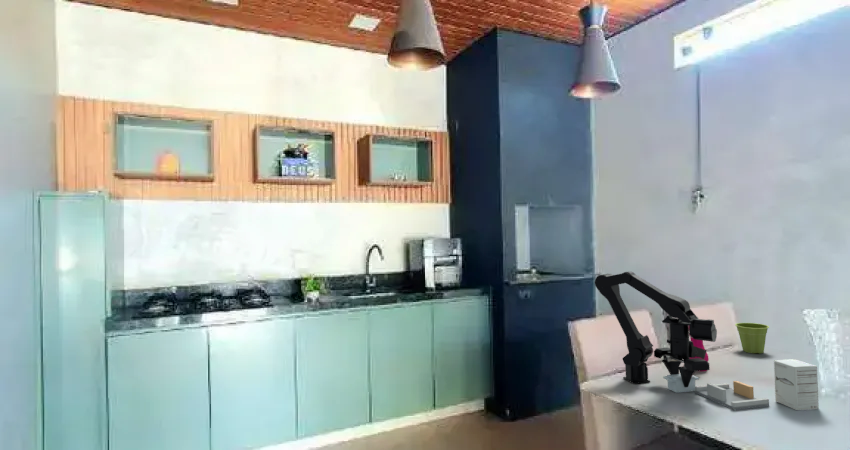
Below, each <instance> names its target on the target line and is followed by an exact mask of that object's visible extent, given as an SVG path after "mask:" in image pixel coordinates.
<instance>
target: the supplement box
mask: <svg viewBox="0 0 850 450" xmlns="http://www.w3.org/2000/svg"><path fill="white" fill-rule="evenodd" d="M773 368H774V391H775V392H774V396H775V399H774V400H775V402H777V403H778V404H782V405H783V406H786V407H789V408H791V409H793V410H795V411H810V410H811V411H812V410H820V409H819V407H820V406H819V383H818V379H819V378H818V366H817V365H816V364H815V365H814V364H811V363H807V362H805V361H802V360H798V359H795V358H791V359H789V358H787V359H776V360H774V361H773Z"/></svg>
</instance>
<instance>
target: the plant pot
mask: <svg viewBox="0 0 850 450" xmlns="http://www.w3.org/2000/svg"><path fill="white" fill-rule="evenodd" d="M734 326H735V327H736V330H737V332H738V335H739V339H740V344H741V348H742V351H743V352H745V353H748V354H749V353H750V354H764V353H765V346H766V339H767V333H768V329H770V326H769V325H767V324H763V323H755V322H738V323H737V322H736V323H735V324H734Z"/></svg>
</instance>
